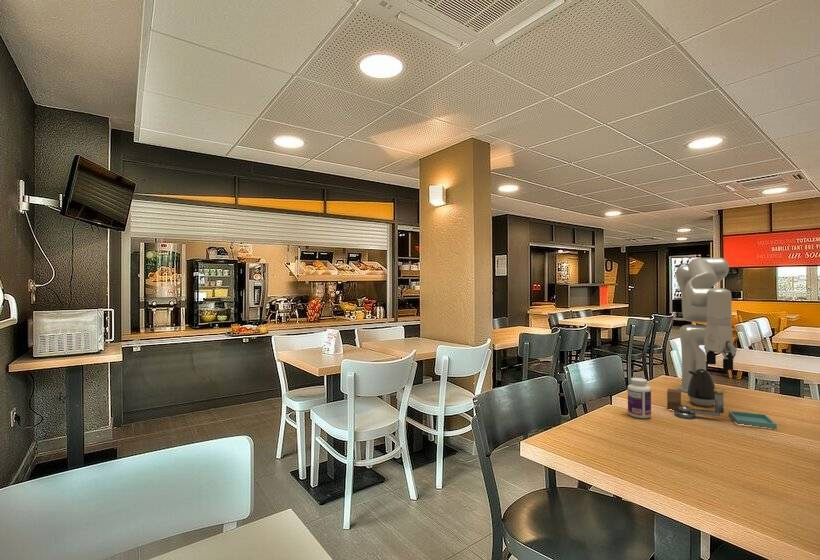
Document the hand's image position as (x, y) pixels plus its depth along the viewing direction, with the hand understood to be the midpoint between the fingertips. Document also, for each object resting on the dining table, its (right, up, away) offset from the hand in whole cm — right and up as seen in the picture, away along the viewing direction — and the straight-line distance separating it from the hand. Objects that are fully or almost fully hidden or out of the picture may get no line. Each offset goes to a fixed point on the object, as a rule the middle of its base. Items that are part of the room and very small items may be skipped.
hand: (719, 366), depth 155 cm
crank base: (-10, -20, +5) cm, 23 cm away
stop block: (-9, -20, +12) cm, 25 cm away
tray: (+10, -20, -3) cm, 23 cm away
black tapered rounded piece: (+7, -20, +19) cm, 29 cm away
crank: (-5, -18, +3) cm, 19 cm away
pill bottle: (-27, -21, +6) cm, 35 cm away
